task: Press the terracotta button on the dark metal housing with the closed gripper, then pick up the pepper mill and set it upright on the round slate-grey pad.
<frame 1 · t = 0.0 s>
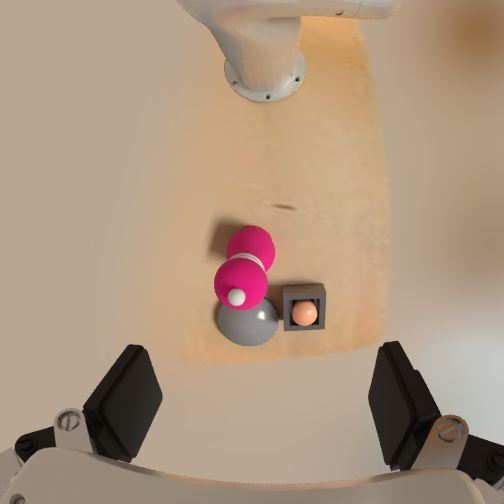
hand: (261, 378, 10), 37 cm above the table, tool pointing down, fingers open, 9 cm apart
button: (304, 311, 47), point 3 cm above the table, slide at 0.0 cm
pad: (248, 319, 52), on the table
button housing: (303, 302, 50), on the table
pepper mill: (253, 244, 47), on the table
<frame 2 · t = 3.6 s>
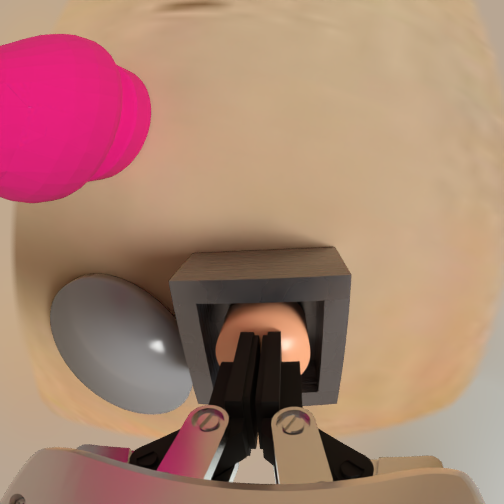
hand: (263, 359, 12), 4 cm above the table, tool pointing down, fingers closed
button: (264, 340, 13), point 2 cm above the table, slide at 0.8 cm, touching gripper
pad: (119, 349, 17), on the table
button housing: (266, 313, 15), on the table
pepper mill: (103, 122, 13), on the table
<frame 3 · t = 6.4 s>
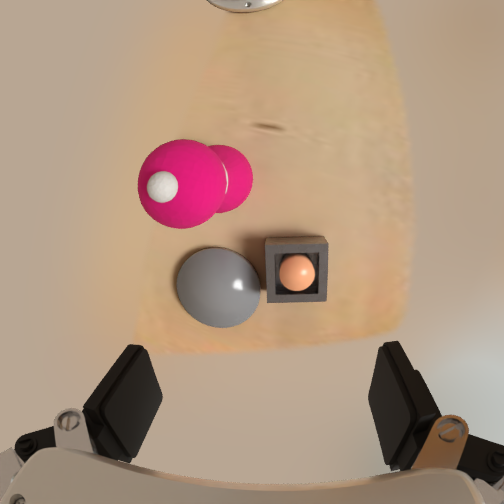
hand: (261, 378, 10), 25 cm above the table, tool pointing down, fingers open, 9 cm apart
button: (296, 271, 33), point 2 cm above the table, slide at 0.8 cm
pad: (218, 287, 37), on the table
button housing: (295, 264, 36), on the table
pepper mill: (226, 177, 34), on the table
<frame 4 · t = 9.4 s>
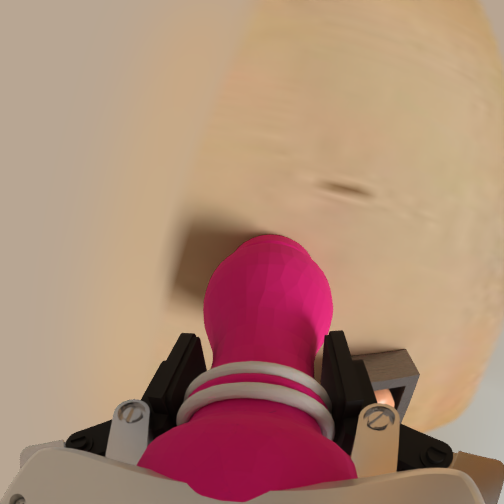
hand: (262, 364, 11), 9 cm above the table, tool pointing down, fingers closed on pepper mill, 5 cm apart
button: (368, 401, 20), point 2 cm above the table, slide at 0.8 cm
button housing: (363, 383, 23), on the table
pepper mill: (271, 276, 20), on the table, touching gripper
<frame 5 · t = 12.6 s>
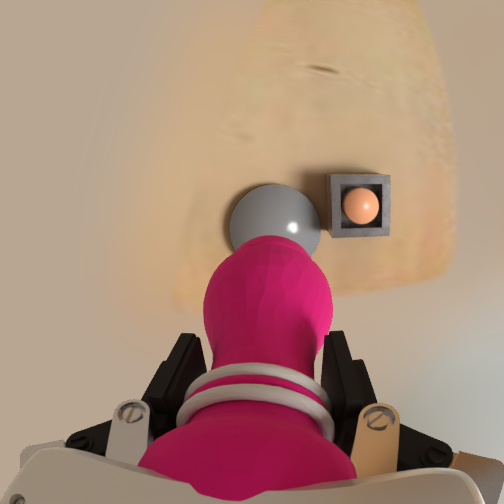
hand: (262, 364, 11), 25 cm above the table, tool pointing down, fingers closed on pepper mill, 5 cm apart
button: (359, 204, 31), point 2 cm above the table, slide at 0.8 cm
pad: (274, 228, 35), on the table
button housing: (354, 201, 33), on the table
pepper mill: (271, 276, 20), point 16 cm above the table, touching gripper
when the fingers open (11 cm above the table, at t = 15.6 s): pepper mill stays where it is, resting on pad.
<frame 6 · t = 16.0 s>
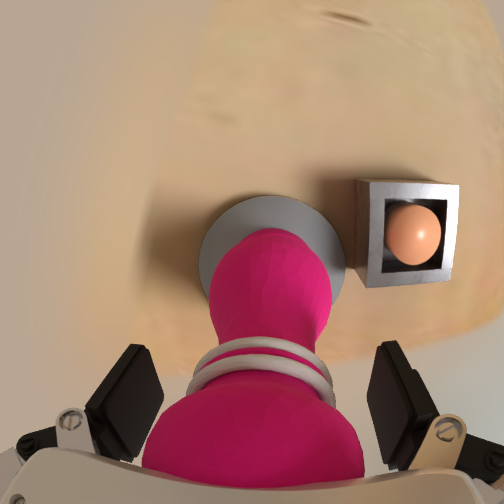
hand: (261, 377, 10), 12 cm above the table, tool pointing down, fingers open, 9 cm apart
button: (410, 232, 18), point 2 cm above the table, slide at 0.8 cm
pad: (271, 267, 22), on the table
button housing: (397, 224, 20), on the table
pepper mill: (272, 268, 21), point 1 cm above the table, touching pad
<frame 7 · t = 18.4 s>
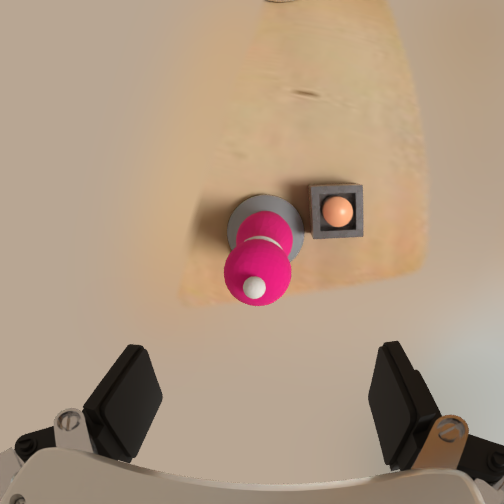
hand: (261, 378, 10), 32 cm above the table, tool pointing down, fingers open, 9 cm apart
button: (336, 210, 37), point 2 cm above the table, slide at 0.8 cm
pad: (265, 232, 42), on the table
button housing: (333, 208, 40), on the table
pepper mill: (266, 232, 41), point 1 cm above the table, touching pad
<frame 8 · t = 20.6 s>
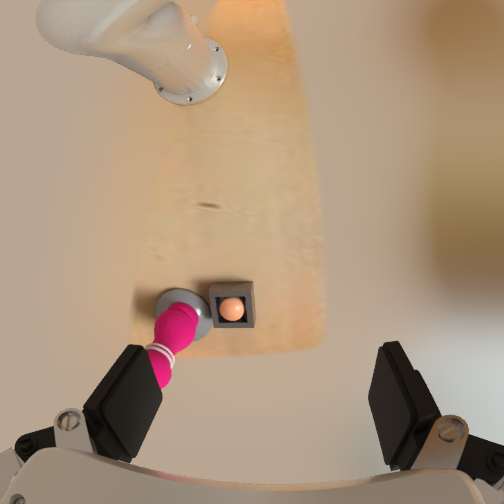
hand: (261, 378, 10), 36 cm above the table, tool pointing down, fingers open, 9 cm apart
button: (232, 307, 48), point 2 cm above the table, slide at 0.8 cm
pad: (184, 314, 52), on the table
button housing: (234, 300, 50), on the table
pepper mill: (183, 316, 51), point 1 cm above the table, touching pad
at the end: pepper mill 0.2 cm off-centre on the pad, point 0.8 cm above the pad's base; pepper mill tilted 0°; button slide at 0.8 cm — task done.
